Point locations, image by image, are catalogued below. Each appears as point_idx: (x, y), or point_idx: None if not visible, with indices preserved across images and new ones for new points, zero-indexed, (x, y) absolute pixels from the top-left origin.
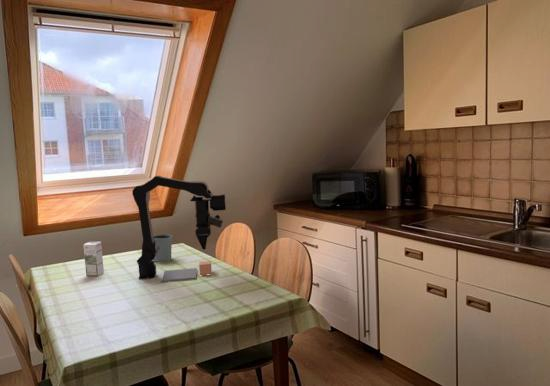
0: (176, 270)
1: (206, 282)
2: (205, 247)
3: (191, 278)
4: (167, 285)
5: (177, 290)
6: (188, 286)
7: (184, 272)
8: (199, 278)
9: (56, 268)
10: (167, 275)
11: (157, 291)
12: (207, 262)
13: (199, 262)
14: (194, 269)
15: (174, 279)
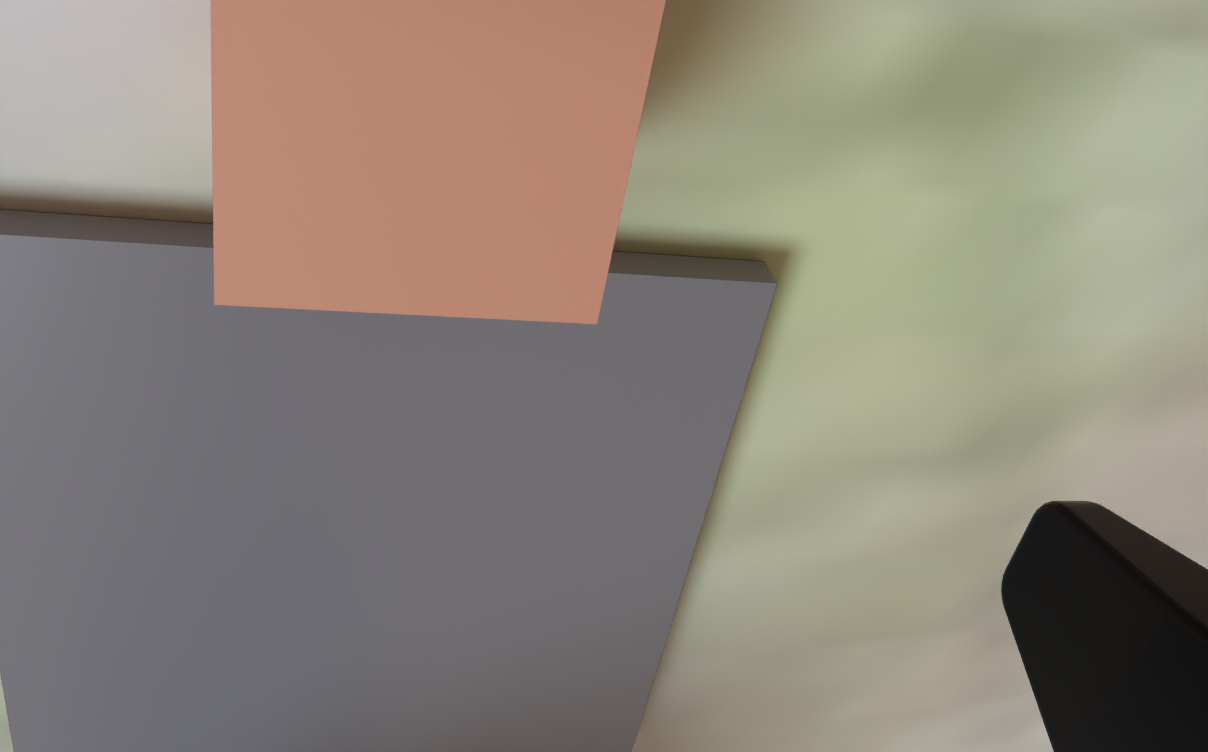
0: (56, 628)
1: (1100, 71)
2: (1191, 568)
3: (745, 356)
4: (827, 652)
5: (1146, 525)
6: (1085, 391)
7: (280, 489)
8: (737, 190)
9: None
10: (384, 722)
11: (1000, 721)
12: (431, 57)
13: (327, 306)
14: (62, 290)
15: (671, 610)
